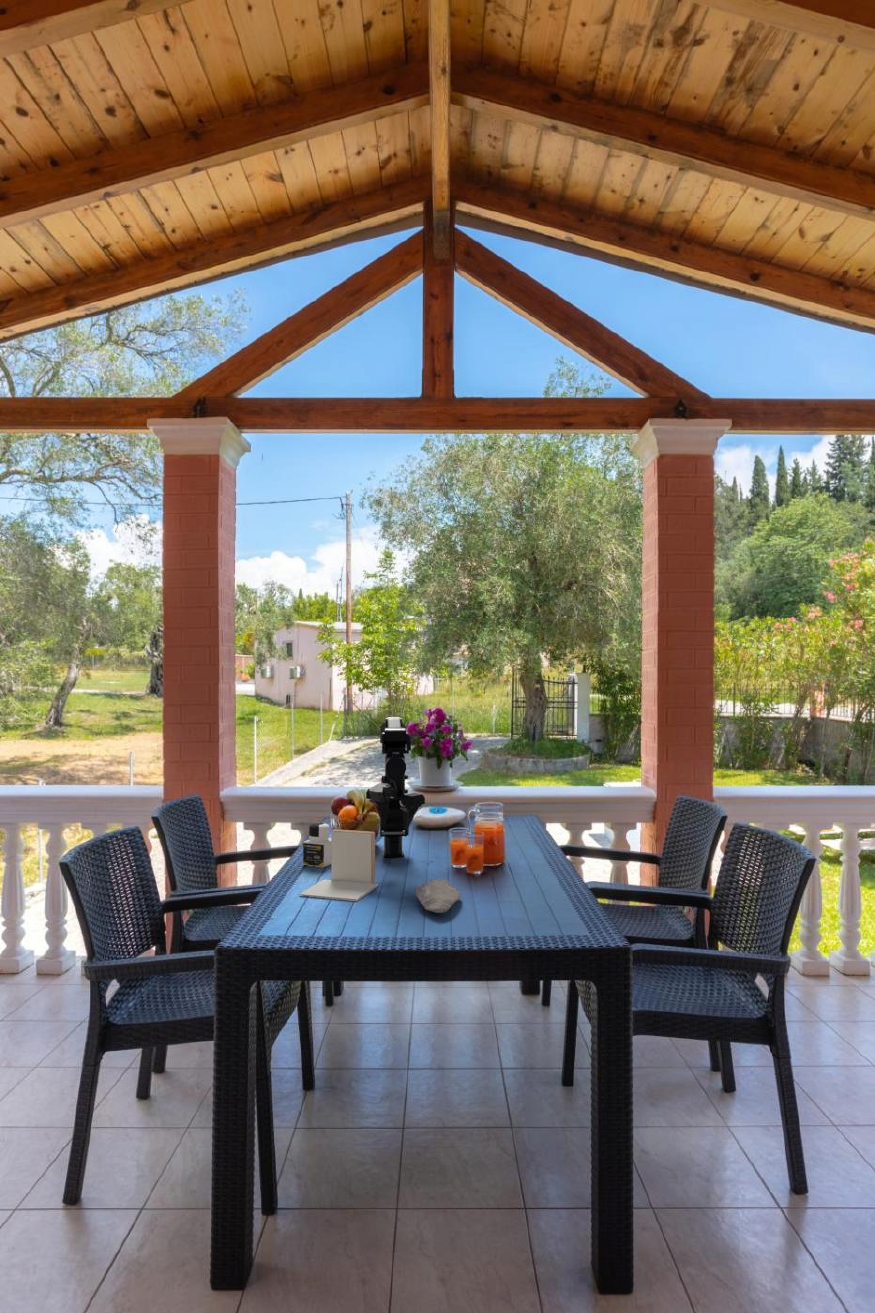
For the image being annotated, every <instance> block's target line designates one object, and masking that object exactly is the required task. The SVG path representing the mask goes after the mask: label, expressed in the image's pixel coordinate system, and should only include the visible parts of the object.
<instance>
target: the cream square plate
mask: <svg viewBox="0 0 875 1313" xmlns="http://www.w3.org/2000/svg"><path fill="white" fill-rule="evenodd" d="M378 886H379V883H374V884H373V883H361V882H349V881H337V880H331V879H322V880H321V881H319V882H317V883H315V884H313V885H312V886H310V887H308V888H306V889H305V890H304V891H302V892H300V893H299V895H302V896H309V897H308V898H311V897H316V898H315V899H322V898H325V900H334V899H335V901H337V900H338V901H347V902H356V903H357V902H359V901H360V900H361V899H363V898H364V897H365V896H366V895H368V894H369V893H371V892H372V891H373V890H374V889H377V887H378Z"/></svg>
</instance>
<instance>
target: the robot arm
mask: <svg viewBox="0 0 875 1313" xmlns="http://www.w3.org/2000/svg"><path fill="white" fill-rule="evenodd" d="M402 718H403V717H400V716H390V717H389V716H388V717H386V718H385V722H384V723H383V724H381V725H380V726H379V744H381V755H385V757H384V775H382V776H381V778H380V780H381V781H380V782H379V783H376V784H375V785H374V786H372V787H371V788H368V789H367V791H366V792H365V799H368V801H369V803H371V804H373V805H374V806H375V809H376V810H377V813H378V816H379V837H380V838H383V851H381V852H382V857H383V858H397V857H398V858H399V857H400V858H403V857H405V853H404V851H403V837H407V836H409V835H410V833H409V832H410V831H409V830H410V826H411V823H412V821H413V820H414V817H415V815H416V813H417V812H418V810H419V808H421V807H422V806H423V805H425V803H426V797H425V796H424V794H422V793H418V792H417V793H416V792H412V793H409V789H406V780H408V779H409V776H408V775H407V774H406V771H407V763H406V756H405V755H407V754H408V755H409V754H410V751H412V742H411V740H412V738H411V736H410V733H409V732H407V729H408V728H407V726H406V725H405V724H404V723H403V719H402ZM401 804H402V805H401Z"/></svg>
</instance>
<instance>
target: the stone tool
mask: <svg viewBox="0 0 875 1313" xmlns="http://www.w3.org/2000/svg"><path fill="white" fill-rule="evenodd" d="M415 890H416V892H415V894H416V897H417V898H418V900H419V902H420V904H421V905H422V907H423V908H424V910H426V911H430V912H433V913H436V914H445V913H446V912H448V911H450V910H449V909H451V907H453V905H454V903H456V902H458V901H459V900H460V898H461V892H460V891H458V888H455V887H452V886H451V885H450V881H449V880H446V879H436V880H435V879H433V880H429V881H426V882H424V883H422V884H420V885H419V886H417V887H416V888H415Z"/></svg>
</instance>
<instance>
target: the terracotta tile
mask: <svg viewBox="0 0 875 1313" xmlns="http://www.w3.org/2000/svg"><path fill="white" fill-rule="evenodd" d="M330 839H331V864H330V865H331V874H330V875H331V877H330V878H331V879H330V880H337V881H349V882H361V883H373V884H376V831H370V830H369V831H368V830H367V831H366V830H354V829H353V830H351V829H350V830H349V829H332V830H331V838H330Z"/></svg>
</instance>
